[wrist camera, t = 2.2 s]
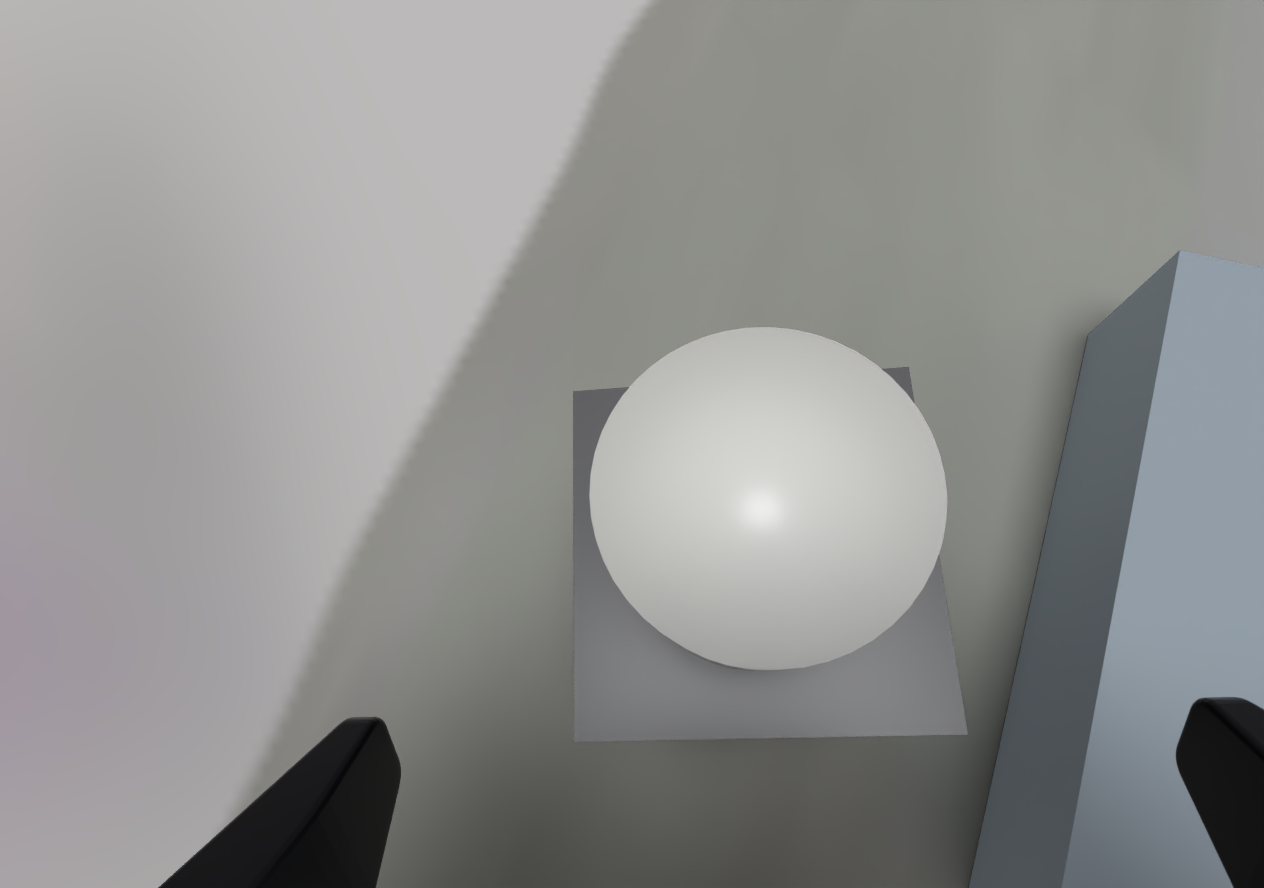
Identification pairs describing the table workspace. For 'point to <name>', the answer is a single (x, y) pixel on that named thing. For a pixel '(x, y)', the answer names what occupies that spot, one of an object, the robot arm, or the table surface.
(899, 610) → the plug
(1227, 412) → the socket block
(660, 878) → the table surface
